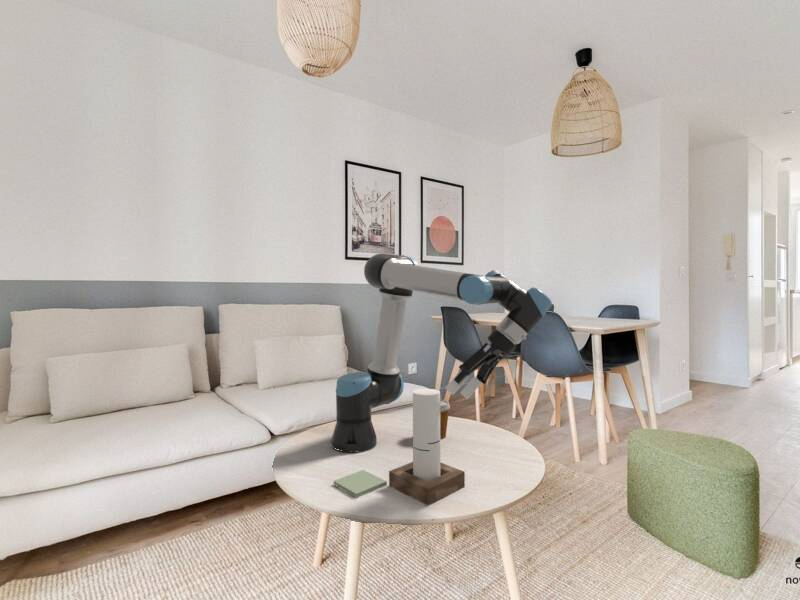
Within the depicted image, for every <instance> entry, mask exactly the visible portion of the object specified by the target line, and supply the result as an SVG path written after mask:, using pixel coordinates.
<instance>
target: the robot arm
mask: <svg viewBox="0 0 800 600" xmlns="http://www.w3.org/2000/svg"><path fill="white" fill-rule="evenodd" d="M363 271H364V272H363V275H364V278H365V279H366V281H367V283H368V284H369V285H370V286H372V287H374V288H376V289H378V290H379V291H378V292H379V293H380V295H381V297H382V299H381V307H380V311H379V312H380V313H379V318H378V326H377V332H376V339H375V347H374V352H373V358H372V359H373V360H372V361H371V362H370V363H369V364H368V366H367V371H355V372H348V373H345V374H343V375H341V376H339V377H338V378H337V380H336V387H335V398H336V399H335V400H336V401H335V403H336V422H335V423H336V424H335V425H334V429H333V432H332V436H331V438H330V439H331V440H330V441H331V442H330V445H331V444H332V446H333V447H334V448H336V449H339V450H342V451H352V452H351V453H357V452H356V451H361V452H365V450H366V451H369V450H371V449H373V448H375V447H376V445H377V443H378V441H377V439H378V438H377V437H378V436H377V434H376V431H375V428H374V425H373V422H372V409H374V408H377V407H378V408H379V407H381V406H384V405H389V404H392V403H393V402H396V401H397V400H398V399H400V397H401V396H402V394H403V392H404V388H405V387H404V385H405V384H404V379H402V378H403V376H402V375H401V373H400V372H401V370H400V368H399V366H398V365H397V364H398V358H399V351H400V344H401V340H402V334H403V328H404V327H403V326H404V321H405V314H406V309H407V308H406V307H407V304H408V303H407V301H408V300H410V299H411V298H412V297H413V292H419V293H425V294H429V295H434V296H440V297H445V298H450V299H454V300H458V301H459V300H460V301H464V302H466V303H467V304H470V305H477V306H479V305H485V304H498V305H499V306H500V307H502V308H503V309H505V310H506V311H507V312H508V314H506V316H505V317H504V318H503V319H502V320H501V322H499V324H498V325H497V326H496V327H497V329H494V330H493V331H492V332H491V333H490V334H489V336H488V337H487V341H489V342H490V344H489V343H487V342H485V343H484V344H483V345H482V346H481V348H480V349H478V350H477V351H476V352H475V353H474V354H473V355H470V357H469V358H467V360H465V361H464V362H463V363H462V364H460V365H459V366H458V369H459V370H460V371H458V373H457V374H456V375H455V376H454V377H453V378H452V380H451V381H450V382H448V384H447V385H446V386H445V389H446V391H448V392H449V394H451V395H452V396H454V395H455V393H456V392H457V391H458V390H459V389H460V388H461V387H462V386H463V385H464V384H465V382H466V381H467V380H468V379H469V378H470V375H471V374H473V373H474V372H476V371H477V370H478V369H479V370H478V372H477V374H476V376H473V378H472V379H470V381H469V382H468V383H467V384H466V385H465V387H463V388H462V390H461V391H460V394H461V396H463V397H464V398H465V399H466V400H468V399H469V398H470V397H471V396H472V395H473V394H474V392H475V391H476V390H477V389H478V388H479V387H480V386H481V384H483V385H486V383H487V381H488V380H489V378H490V376H491V375H492V373H493V372H494V370H495V368H496V367H497V366H498V365H499V363H500V362H501V360H502V359H503V358H504V355H502V353H503V354H505V355H506V356H510V355H511V354H512V352H513V351H514V350H515V349H516V347H517V345H519V344H520V343H521V342H522V341H523V340H524V341H525V340H526V339H527V337H526V336H527V335H528V334H529V333H530V332H531V331H532V329H534V327H535V326H536V325H537V324H538V323H539V322H540V321H541V320H542V319H543V318H544V317H545V315H546V314H547V312H548V311H549V310H550V308H551V307H552V306H553V305H552V304H553V303H552V299H551V298H550V297H549V296H548V295H547V294H545V292H543V291H542V290H541V289H538V288H537V287H534V286H532V287H530V288H529V289H527V290H526V289H524V288H522V287H521V286H520V285H519V284H517V283H516V282H514V281H513V280H512V279H510V278H509V277H508V276H507V275H506V274H504V273H501V272H500V271H499V270H496V269H491V271H488V272H487V273H486V274H485V275H481V274H476V273H475V274H474V273H466V272H462V271H455V270H448V269H442V268H435V267H430V266H429V267H428V266H422V265H420V264H419V262H417V260H416V259H414V258H413V257H411V256H408V255H404V254H403V255H400V254H389V253H378V254H377V253H376V254H374V255H372V256H371V257H369V258H368V260H367V261H366V263H365V264H364V268H363ZM332 446H331V447H332ZM333 447H332V448H333ZM334 448H333V449H334ZM342 451H341V452H342Z"/></svg>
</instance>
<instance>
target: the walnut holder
mask: <svg viewBox="0 0 800 600" xmlns="http://www.w3.org/2000/svg"><path fill="white" fill-rule="evenodd" d="M465 474H466V473H465V471H463V470H461V469H459V468H455V467H453V466H451V465H448V464H445V463H443V462H441V461H440V476H439V477H437V478H435V479H433V480H430V481H428V482H427V481H425V480H422V479H420V478H418V477H416V476H413V461H411V462H408V463H406V464H404V465H401V466H398V467H396V468H393V469H391V470H389V471H388V481H389V482H388V487H390V488H392V489H393V490H395V491H398V492H400V493H402V494H404V495H405V496H408V497H410V498H412V499H414V500H417V501H418V502H419V503H421V504H424V505H426V506H430V505H432V504H434V503H436V502H438V501H440V500H442V499H444V498H446V497H448V496H450V495H451V494H454V493H455V492H457V491H459V490H461V489H463V488H465V485H466V483H465V481H466V480H465V479H466V477H465V476H466V475H465Z"/></svg>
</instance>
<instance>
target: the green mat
mask: <svg viewBox="0 0 800 600" xmlns="http://www.w3.org/2000/svg"><path fill="white" fill-rule="evenodd" d="M334 484H335V485H337V486H338V487H337V486H336V487H337V488H339V487H340V488H341V490H342V489H343V490H342V491H344V490H345V491H344V492H346V491H347V492H348V494H349V495H351V496H353V497H354V496H355V498H360V497H362V496H364V495H366V494H369V493H371V492H374V491H376V490H378V489H381V488H383V487H385V486H387V480H384V479H383V478H381V477H379V476H376V475H374V474H372V473H370V472H368V471H367V470H364V469H362V470H359V471H356V472H354V473H351V474H348V475H345V476H343V477H340V478H338V479H335V480H333V485H334ZM335 485H334V486H335ZM340 488H339V489H340ZM347 492H346V493H347ZM359 496H360V497H359Z"/></svg>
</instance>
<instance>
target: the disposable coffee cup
mask: <svg viewBox="0 0 800 600" xmlns="http://www.w3.org/2000/svg"><path fill="white" fill-rule="evenodd" d="M450 408H451V405H450V402H449V401H448V400H444V399H440V440H442V439H445V438H446V437H447V430H448V429H447V428H448V421H449V413H450Z"/></svg>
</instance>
